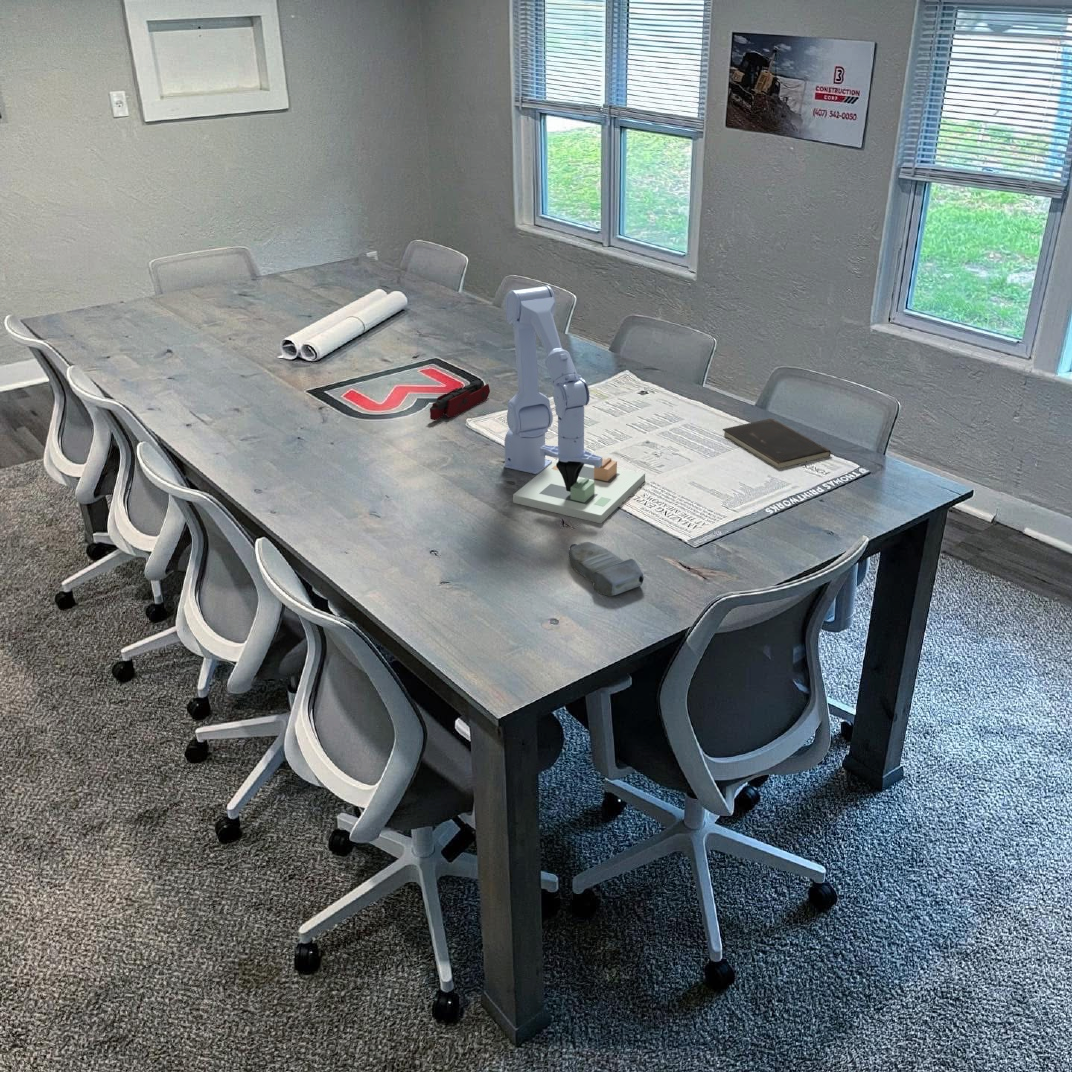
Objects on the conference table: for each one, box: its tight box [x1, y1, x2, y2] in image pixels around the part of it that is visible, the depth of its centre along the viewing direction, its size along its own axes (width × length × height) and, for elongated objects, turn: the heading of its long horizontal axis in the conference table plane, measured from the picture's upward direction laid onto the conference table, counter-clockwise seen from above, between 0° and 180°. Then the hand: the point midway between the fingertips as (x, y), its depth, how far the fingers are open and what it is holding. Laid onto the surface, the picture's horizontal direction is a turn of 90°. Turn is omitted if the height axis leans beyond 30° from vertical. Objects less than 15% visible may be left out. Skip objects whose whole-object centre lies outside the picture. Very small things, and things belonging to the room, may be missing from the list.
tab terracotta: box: [594, 457, 618, 481], centre depth 245 cm, size 4×5×4 cm
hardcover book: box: [722, 417, 832, 469], centre depth 264 cm, size 16×23×2 cm
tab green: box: [571, 478, 595, 503], centre depth 235 cm, size 4×5×4 cm
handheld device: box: [568, 541, 645, 597], centre depth 211 cm, size 10×20×5 cm, turn 33°
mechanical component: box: [429, 379, 491, 421], centre depth 288 cm, size 23×4×6 cm, turn 146°
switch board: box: [512, 458, 646, 524], centre depth 243 cm, size 22×24×2 cm
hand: (570, 489), depth 237 cm, fingers closed
